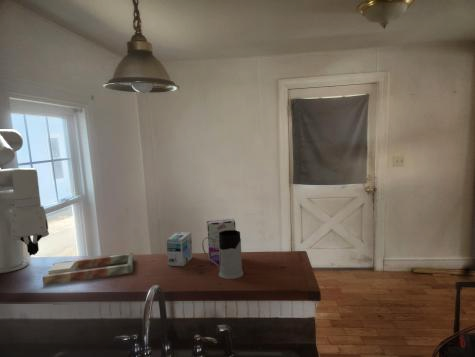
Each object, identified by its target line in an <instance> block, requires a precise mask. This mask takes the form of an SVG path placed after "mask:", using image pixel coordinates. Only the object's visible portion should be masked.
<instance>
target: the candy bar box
mask: <svg viewBox="0 0 475 357" xmlns="http://www.w3.org/2000/svg"><path fill="white" fill-rule="evenodd" d="M226 230H236V221H235V218H225V219H216V220H207V221H206V231H207V232H206V233H207V235H206V236H207V237H211V238H213V239H214V241H215V247H216V248H219V247H220V245H219V233H220V232H222V231H226ZM236 231H237V230H236ZM215 247H214V242H213V240H212V239H210V238H207V251H208V254H207V256H208V257H209V258H210V259H211V260H213V261H214V262H215V263H217V264H220V257H219V249H216V248H215ZM211 260H209V259H208V261H209V264H210V265H213V264H214V263H213V262H212V261H211ZM214 265H215V264H214Z"/></svg>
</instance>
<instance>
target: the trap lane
mask: <svg viewBox="0 0 475 357" xmlns="http://www.w3.org/2000/svg"><path fill="white" fill-rule="evenodd" d="M67 262H75V266H76V271H73V272H66V273H58V274H51V275H49V274H45V275H42V285H43V286H49V285H57V284H62V283H63V284H64V283H71V282H76V281H84V280H90V279H91V280H92V279H97V278H106V277H112V276H119V275H126V273H127V274H133V268H134V253H133V252H131V253H125V254H124V253H122V254H117V255H116V254H115V255H109V256H108V255H107V256H100V257H94V258H93V257H91V258H84V259H77V260H76V259H75V260H69V261H61V262H60V261H59V262H53V264H52V266H53V265H54V264H58V263H67ZM117 264H118V265H117ZM108 265H112V266H108ZM100 266H101V267H100ZM103 266H104V267H103ZM95 267H96V268H95ZM78 268H80V269H82V270H80V269H78Z"/></svg>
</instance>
